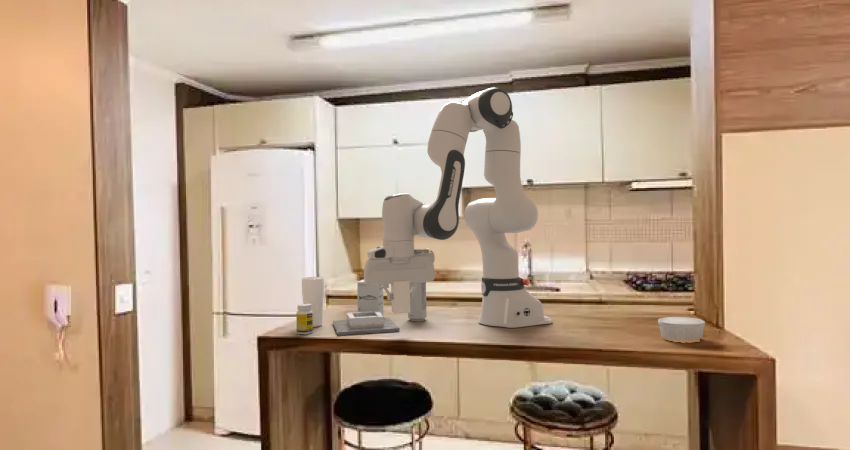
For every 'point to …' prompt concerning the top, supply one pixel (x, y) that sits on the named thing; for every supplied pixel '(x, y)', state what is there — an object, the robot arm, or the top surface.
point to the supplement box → (369, 297)
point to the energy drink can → (418, 303)
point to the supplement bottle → (304, 319)
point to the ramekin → (681, 328)
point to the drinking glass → (314, 297)
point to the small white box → (400, 297)
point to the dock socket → (365, 323)
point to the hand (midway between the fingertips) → (400, 298)
